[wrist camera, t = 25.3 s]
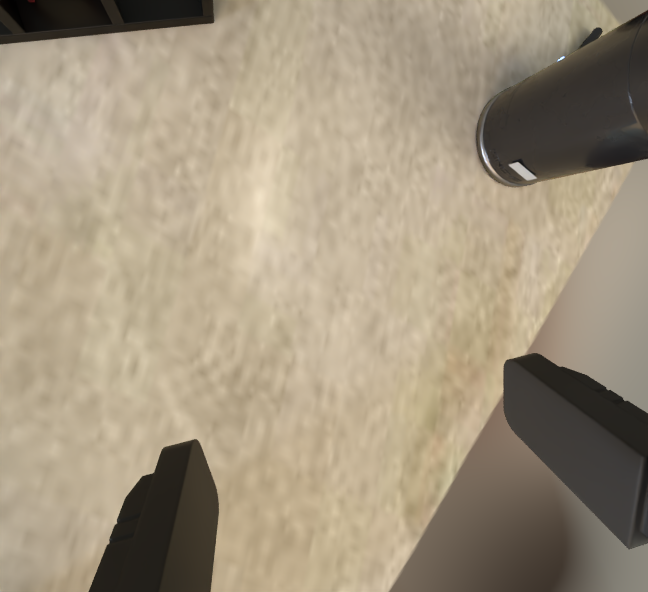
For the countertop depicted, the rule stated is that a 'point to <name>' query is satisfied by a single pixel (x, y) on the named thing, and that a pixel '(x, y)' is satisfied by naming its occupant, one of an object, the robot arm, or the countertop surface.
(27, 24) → the rack
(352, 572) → the countertop surface
